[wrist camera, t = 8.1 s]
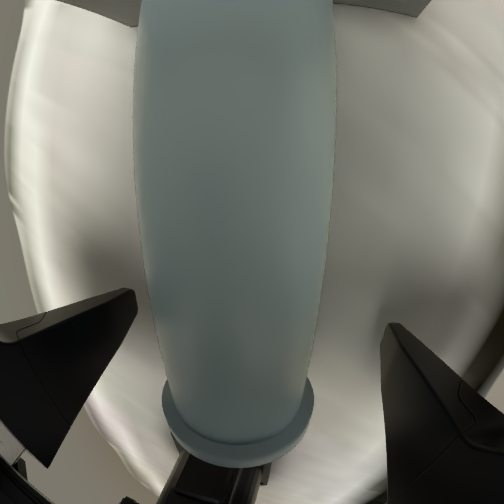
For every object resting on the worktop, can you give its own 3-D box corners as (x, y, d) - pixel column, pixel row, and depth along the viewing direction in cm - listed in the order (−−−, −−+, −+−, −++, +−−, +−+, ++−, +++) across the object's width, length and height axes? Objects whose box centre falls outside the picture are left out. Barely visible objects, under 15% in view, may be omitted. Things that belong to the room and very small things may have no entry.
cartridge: (314, 369, 10) (301, 479, 6) (196, 350, 11) (143, 441, 7) (342, 18, 6) (357, -87, 1) (183, 26, 7) (82, -32, 2)
